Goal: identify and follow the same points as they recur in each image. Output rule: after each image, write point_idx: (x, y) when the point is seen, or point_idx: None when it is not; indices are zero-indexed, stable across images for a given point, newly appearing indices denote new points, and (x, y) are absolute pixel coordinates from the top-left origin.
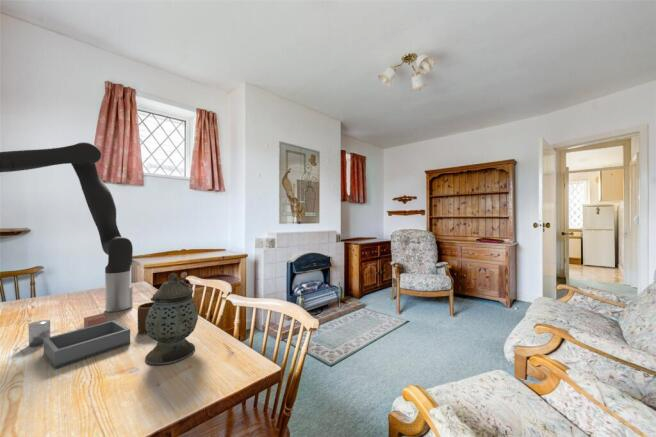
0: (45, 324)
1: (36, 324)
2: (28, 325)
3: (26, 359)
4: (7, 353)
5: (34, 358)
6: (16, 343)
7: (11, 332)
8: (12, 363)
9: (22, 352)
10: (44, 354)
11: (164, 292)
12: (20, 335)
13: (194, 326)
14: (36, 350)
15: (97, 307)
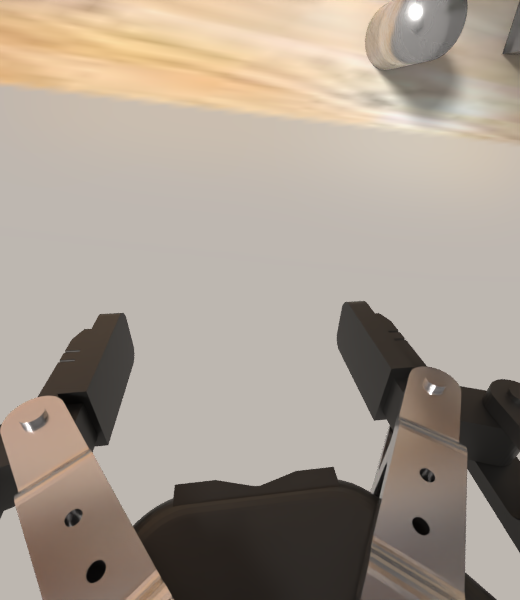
0: (463, 4)
1: (445, 35)
2: (421, 60)
3: (483, 95)
4: (386, 124)
5: (499, 78)
6: (319, 92)
7: (168, 85)
8: (473, 124)
9: (420, 93)
10: (517, 53)
11: None
12: (237, 68)
13: None
14: (444, 60)
15: None
